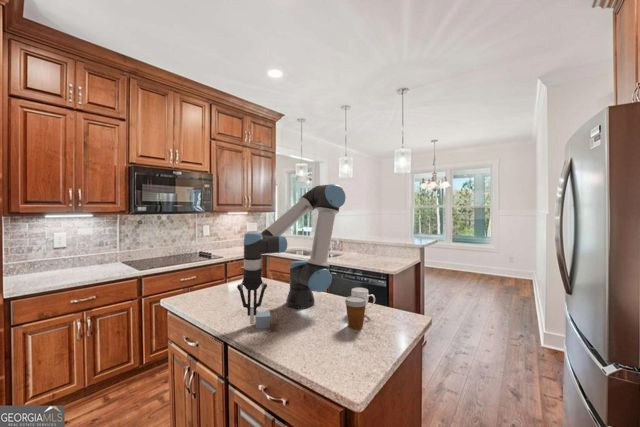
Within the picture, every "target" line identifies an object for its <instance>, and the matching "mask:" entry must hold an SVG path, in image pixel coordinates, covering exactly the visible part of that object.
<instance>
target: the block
mask: <svg viewBox="0 0 640 427" xmlns="http://www.w3.org/2000/svg"><path fill="white" fill-rule="evenodd" d="M259 329H260V330H261V329H270V310H268V311H256V315H255V330H259Z"/></svg>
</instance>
